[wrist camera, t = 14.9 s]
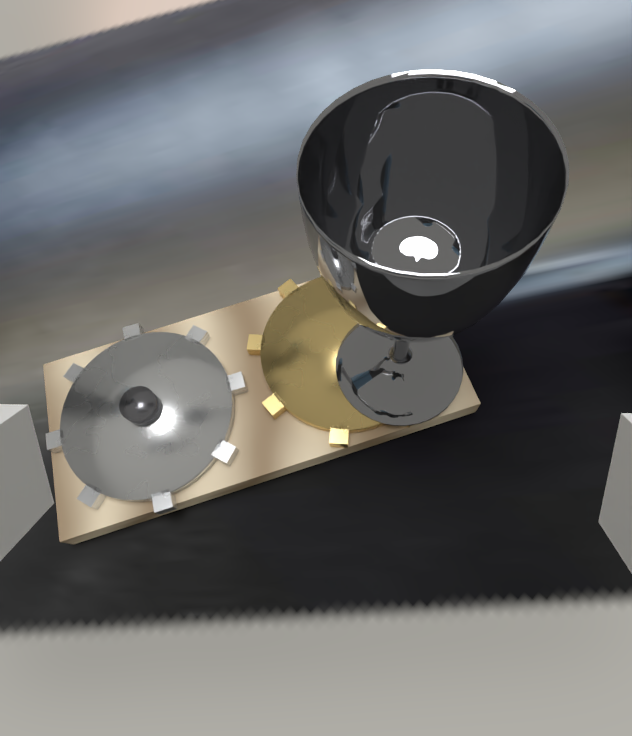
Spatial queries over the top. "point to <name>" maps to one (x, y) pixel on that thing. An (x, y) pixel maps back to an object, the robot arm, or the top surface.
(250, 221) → the top surface
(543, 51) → the top surface
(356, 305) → the wine glass
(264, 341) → the gear board
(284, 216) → the top surface
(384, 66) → the top surface
